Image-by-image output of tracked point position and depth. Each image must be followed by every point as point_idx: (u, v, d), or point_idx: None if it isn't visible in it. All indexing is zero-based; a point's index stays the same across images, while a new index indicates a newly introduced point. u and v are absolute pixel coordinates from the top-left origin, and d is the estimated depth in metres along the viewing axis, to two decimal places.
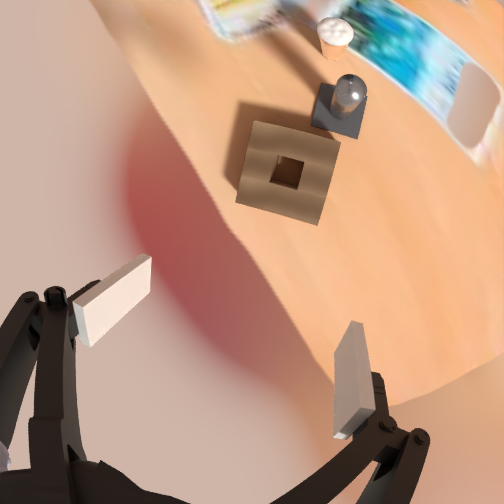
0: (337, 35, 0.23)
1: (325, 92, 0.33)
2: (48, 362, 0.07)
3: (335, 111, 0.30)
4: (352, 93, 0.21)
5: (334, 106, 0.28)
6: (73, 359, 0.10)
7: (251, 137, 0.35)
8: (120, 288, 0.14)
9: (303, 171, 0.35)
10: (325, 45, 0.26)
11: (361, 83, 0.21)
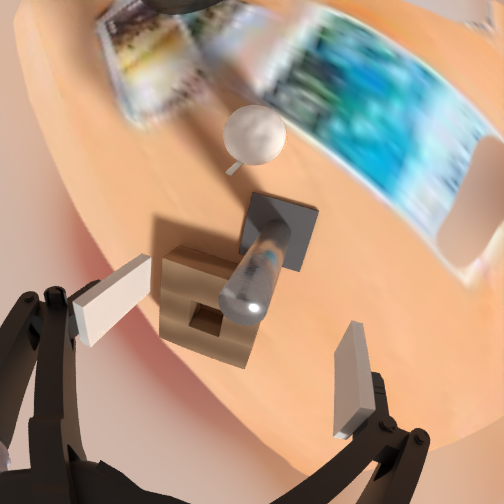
0: (253, 149, 0.18)
1: (257, 208, 0.28)
2: (48, 362, 0.07)
3: None
4: (243, 313, 0.16)
5: None
6: (73, 359, 0.10)
7: (162, 277, 0.30)
8: (120, 288, 0.14)
9: (223, 320, 0.30)
10: None
11: (258, 298, 0.16)
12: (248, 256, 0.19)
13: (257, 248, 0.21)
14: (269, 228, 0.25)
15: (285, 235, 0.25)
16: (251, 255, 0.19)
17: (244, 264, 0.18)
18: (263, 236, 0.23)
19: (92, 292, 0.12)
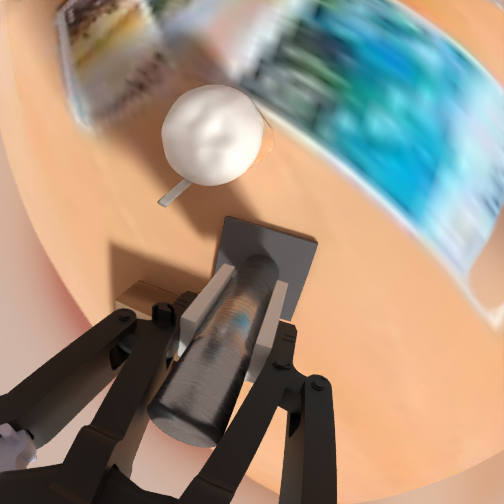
0: (205, 158, 0.10)
1: (233, 239, 0.21)
2: (131, 378, 0.08)
3: None
4: (186, 434, 0.08)
5: None
6: (163, 379, 0.11)
7: None
8: (215, 299, 0.15)
9: None
10: None
11: (205, 426, 0.08)
12: (202, 334, 0.12)
13: (219, 316, 0.13)
14: (246, 272, 0.18)
15: (269, 281, 0.18)
16: (206, 334, 0.12)
17: (190, 355, 0.10)
18: (234, 289, 0.16)
19: (197, 305, 0.13)
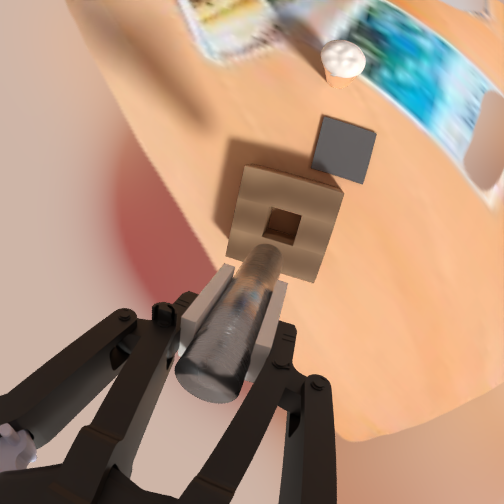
0: (346, 65, 0.20)
1: (328, 129, 0.31)
2: (131, 379, 0.08)
3: None
4: (208, 390, 0.11)
5: None
6: (163, 379, 0.11)
7: (242, 185, 0.32)
8: (216, 299, 0.15)
9: (300, 226, 0.32)
10: (330, 75, 0.23)
11: (227, 377, 0.10)
12: (220, 305, 0.14)
13: (234, 292, 0.15)
14: (254, 257, 0.20)
15: (275, 266, 0.20)
16: (224, 305, 0.14)
17: (212, 321, 0.13)
18: (245, 271, 0.18)
19: (197, 306, 0.13)
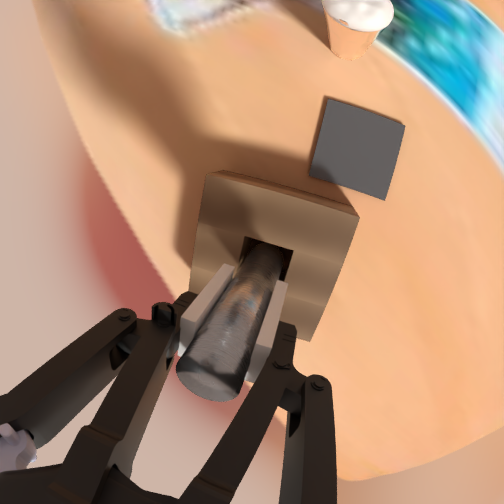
0: (364, 10, 0.10)
1: (335, 117, 0.20)
2: (131, 378, 0.08)
3: None
4: (209, 388, 0.11)
5: None
6: (163, 379, 0.11)
7: (203, 205, 0.21)
8: (216, 299, 0.15)
9: (291, 265, 0.21)
10: (338, 30, 0.12)
11: (228, 375, 0.10)
12: (221, 304, 0.14)
13: (235, 291, 0.15)
14: (255, 257, 0.20)
15: (275, 265, 0.20)
16: (225, 304, 0.14)
17: (213, 319, 0.13)
18: (245, 270, 0.18)
19: (197, 305, 0.13)
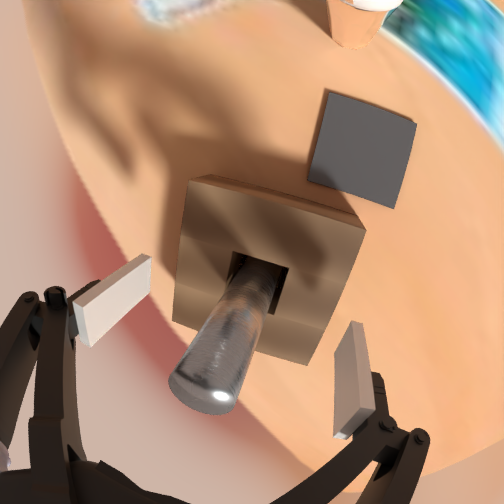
0: None
1: (337, 113, 0.17)
2: (48, 362, 0.07)
3: None
4: (203, 402, 0.10)
5: None
6: (73, 359, 0.10)
7: (186, 215, 0.18)
8: (120, 288, 0.14)
9: (286, 285, 0.19)
10: (340, 10, 0.09)
11: (221, 390, 0.10)
12: (215, 314, 0.14)
13: (230, 299, 0.15)
14: (252, 263, 0.20)
15: (273, 272, 0.20)
16: (220, 314, 0.13)
17: (207, 330, 0.12)
18: (242, 277, 0.17)
19: (92, 292, 0.12)
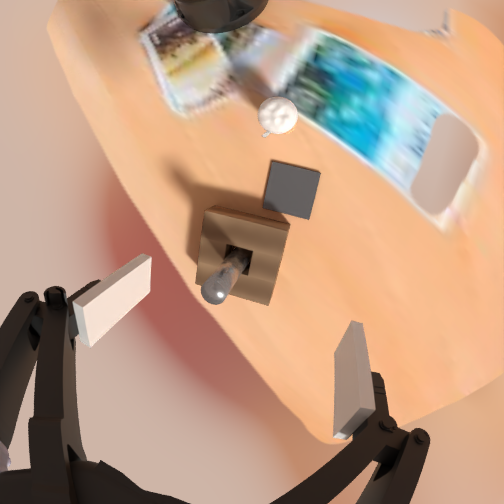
0: (278, 122, 0.28)
1: (276, 172, 0.38)
2: (48, 362, 0.07)
3: None
4: (213, 297, 0.31)
5: None
6: (73, 359, 0.10)
7: (203, 227, 0.39)
8: (120, 288, 0.14)
9: (252, 259, 0.39)
10: None
11: (220, 289, 0.30)
12: (219, 267, 0.34)
13: (225, 262, 0.35)
14: (236, 249, 0.40)
15: (246, 254, 0.40)
16: (220, 267, 0.34)
17: (215, 272, 0.33)
18: (230, 255, 0.38)
19: (92, 292, 0.12)
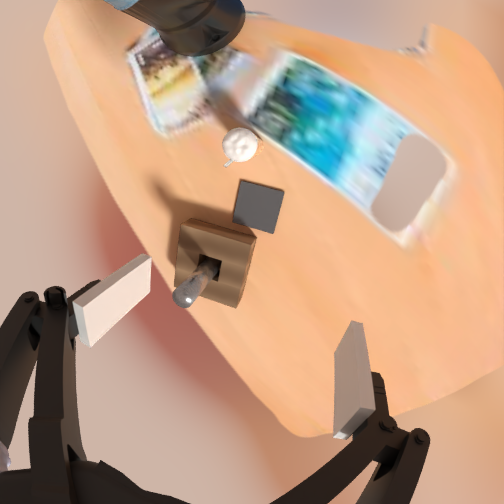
0: (238, 152, 0.32)
1: (244, 191, 0.43)
2: (48, 362, 0.07)
3: None
4: (182, 302, 0.36)
5: None
6: (73, 359, 0.10)
7: (180, 238, 0.44)
8: (120, 288, 0.14)
9: (221, 268, 0.44)
10: None
11: (188, 295, 0.35)
12: (189, 276, 0.39)
13: (195, 271, 0.40)
14: (208, 258, 0.45)
15: (217, 262, 0.45)
16: (191, 275, 0.39)
17: (185, 280, 0.38)
18: (202, 264, 0.43)
19: (92, 292, 0.12)
